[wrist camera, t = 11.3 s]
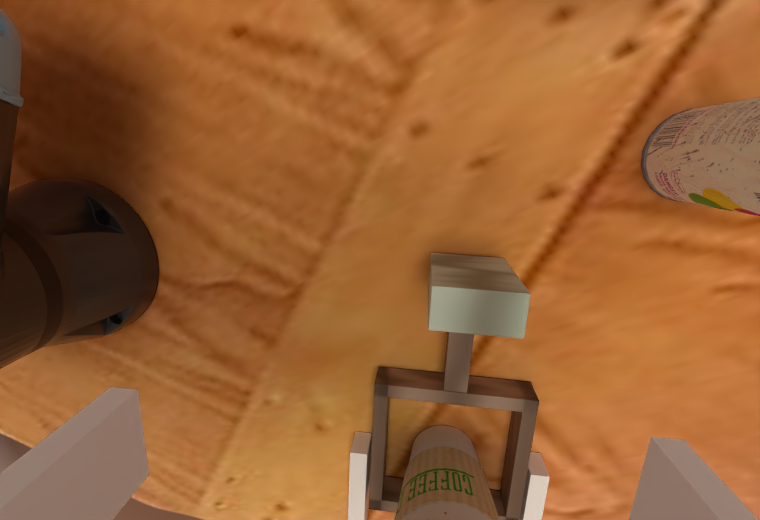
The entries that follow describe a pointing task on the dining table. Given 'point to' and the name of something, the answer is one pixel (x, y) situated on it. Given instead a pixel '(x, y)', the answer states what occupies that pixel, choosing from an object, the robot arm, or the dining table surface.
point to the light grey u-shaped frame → (361, 470)
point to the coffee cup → (444, 479)
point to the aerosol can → (708, 157)
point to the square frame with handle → (464, 370)
